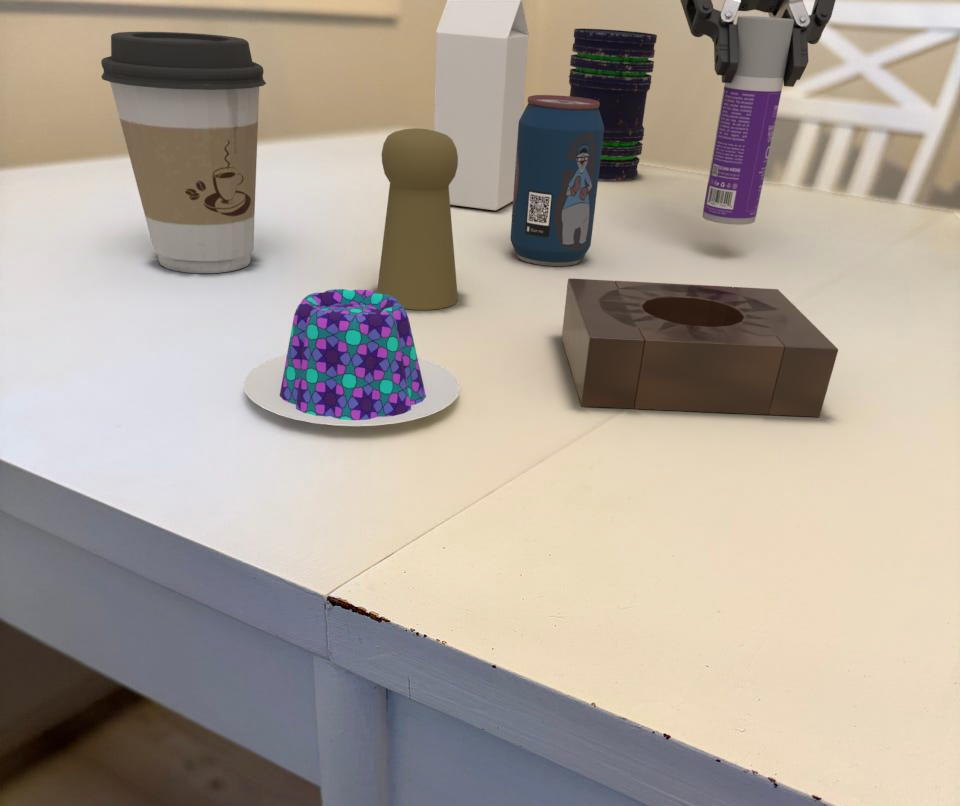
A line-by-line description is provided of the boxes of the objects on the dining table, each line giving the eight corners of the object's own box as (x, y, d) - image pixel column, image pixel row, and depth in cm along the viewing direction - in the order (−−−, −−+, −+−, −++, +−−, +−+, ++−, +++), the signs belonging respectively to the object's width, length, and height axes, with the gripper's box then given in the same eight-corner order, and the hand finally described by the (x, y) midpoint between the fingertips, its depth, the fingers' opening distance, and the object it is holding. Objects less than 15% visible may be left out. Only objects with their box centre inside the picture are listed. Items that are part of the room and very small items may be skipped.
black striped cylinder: (544, 171, 116) (557, 28, 108) (583, 163, 123) (598, 28, 114) (615, 184, 112) (634, 36, 103) (651, 175, 119) (672, 35, 110)
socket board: (764, 349, 64) (778, 288, 62) (819, 417, 54) (839, 349, 52) (561, 339, 63) (568, 277, 61) (581, 406, 54) (589, 337, 51)
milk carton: (496, 212, 95) (510, -15, 84) (431, 203, 97) (436, -21, 86) (516, 200, 101) (532, -15, 90) (454, 192, 103) (463, -20, 91)
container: (763, 225, 82) (806, 20, 73) (713, 224, 81) (749, 18, 73) (743, 213, 86) (781, 17, 77) (694, 212, 85) (727, 14, 76)
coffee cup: (183, 289, 68) (152, 44, 59) (101, 256, 74) (62, 29, 65) (307, 266, 75) (296, 44, 66) (223, 237, 81) (202, 30, 72)
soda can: (528, 244, 85) (540, 91, 78) (600, 256, 83) (619, 100, 76) (495, 259, 80) (506, 97, 73) (571, 272, 78) (589, 107, 71)
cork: (467, 308, 68) (475, 138, 62) (385, 311, 66) (385, 136, 60) (446, 285, 73) (451, 124, 66) (369, 286, 71) (367, 122, 65)
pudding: (480, 375, 57) (485, 286, 54) (427, 453, 47) (429, 351, 44) (294, 349, 59) (289, 262, 56) (206, 420, 49) (194, 319, 46)
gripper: (683, -155, 74) (687, 35, 72) (859, -143, 75) (869, 46, 72) (660, -69, 82) (663, 106, 79) (821, -59, 82) (829, 115, 80)
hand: (761, 76), depth 76 cm, fingers closed on container, 4 cm apart
